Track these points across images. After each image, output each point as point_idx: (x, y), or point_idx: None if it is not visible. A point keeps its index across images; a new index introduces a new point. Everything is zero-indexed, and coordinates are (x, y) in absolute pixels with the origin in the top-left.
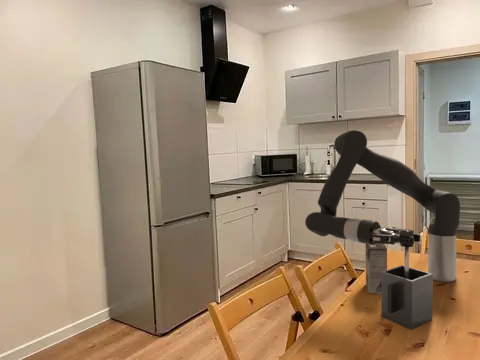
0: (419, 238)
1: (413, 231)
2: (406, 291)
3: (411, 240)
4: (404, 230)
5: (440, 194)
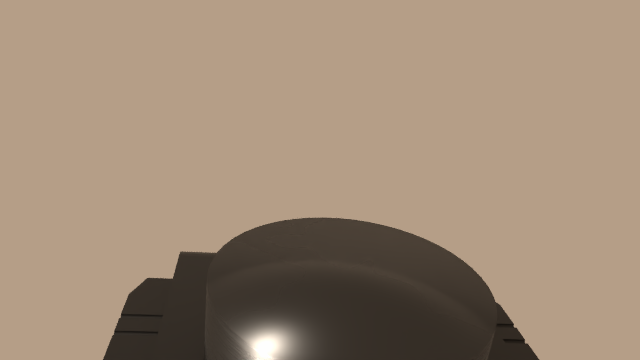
0: None
1: (314, 220)
2: None
3: None
4: (377, 307)
5: None
